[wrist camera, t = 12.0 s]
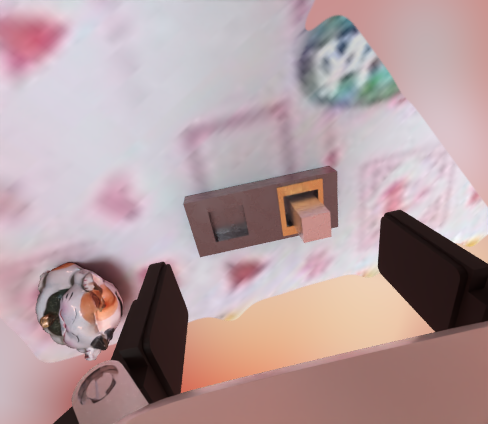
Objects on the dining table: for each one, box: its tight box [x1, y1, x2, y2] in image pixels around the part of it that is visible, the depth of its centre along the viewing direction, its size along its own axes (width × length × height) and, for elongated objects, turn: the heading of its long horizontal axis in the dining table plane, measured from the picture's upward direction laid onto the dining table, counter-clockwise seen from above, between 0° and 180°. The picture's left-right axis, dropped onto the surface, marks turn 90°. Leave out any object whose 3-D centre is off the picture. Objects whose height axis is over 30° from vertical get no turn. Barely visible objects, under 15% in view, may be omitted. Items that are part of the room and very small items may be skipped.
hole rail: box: [184, 166, 338, 257], centre depth 42 cm, size 10×24×3 cm, turn 100°
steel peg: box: [285, 191, 331, 243], centre depth 39 cm, size 4×4×9 cm
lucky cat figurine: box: [36, 263, 123, 360], centre depth 41 cm, size 15×12×14 cm
